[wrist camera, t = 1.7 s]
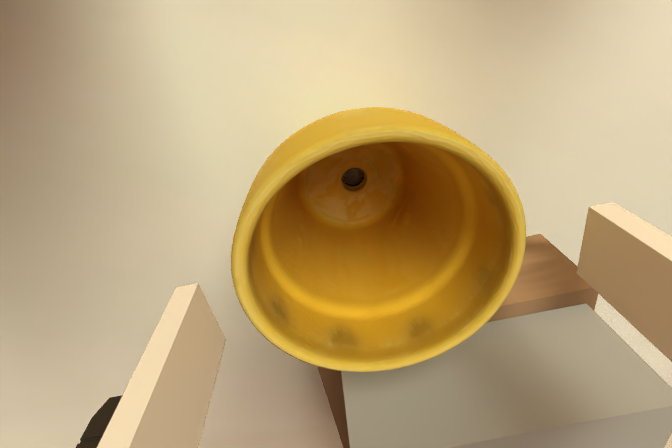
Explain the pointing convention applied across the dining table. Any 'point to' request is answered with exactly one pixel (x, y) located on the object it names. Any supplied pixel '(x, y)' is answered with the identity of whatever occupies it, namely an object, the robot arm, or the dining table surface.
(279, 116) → the dining table surface
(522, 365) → the grey top block
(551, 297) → the walnut base block
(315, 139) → the plant pot
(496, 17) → the dining table surface
